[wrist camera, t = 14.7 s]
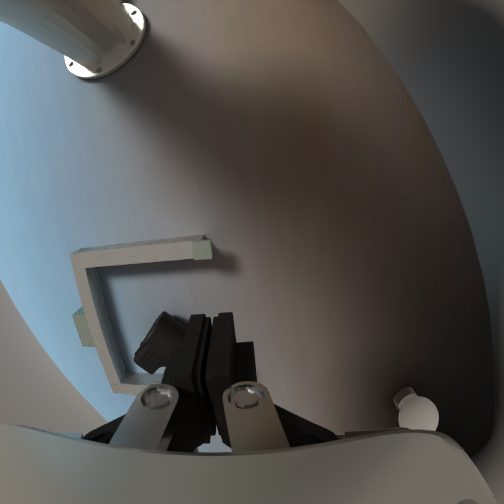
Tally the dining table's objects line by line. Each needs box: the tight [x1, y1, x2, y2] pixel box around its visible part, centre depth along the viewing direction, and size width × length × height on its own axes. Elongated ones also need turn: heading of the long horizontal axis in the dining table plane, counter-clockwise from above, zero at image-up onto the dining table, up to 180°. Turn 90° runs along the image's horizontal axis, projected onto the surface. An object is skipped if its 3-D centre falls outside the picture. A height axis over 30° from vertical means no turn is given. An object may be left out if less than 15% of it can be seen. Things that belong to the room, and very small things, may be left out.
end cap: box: [134, 312, 187, 375], centre depth 35 cm, size 10×7×7 cm
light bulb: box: [393, 387, 439, 431], centre depth 36 cm, size 7×7×11 cm
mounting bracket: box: [70, 235, 213, 395], centre depth 35 cm, size 22×21×4 cm
